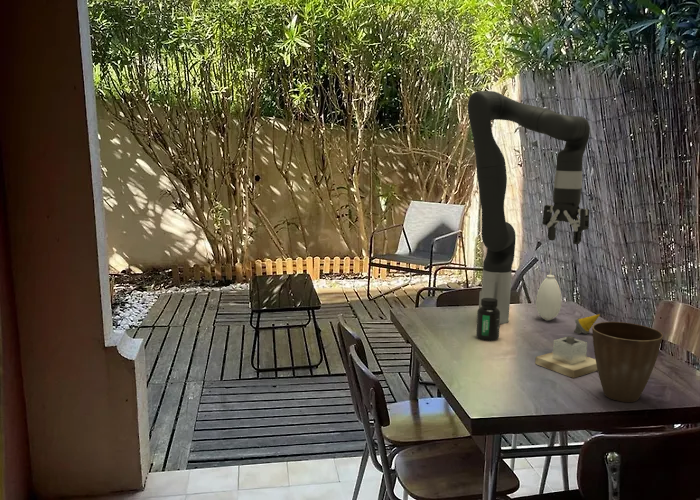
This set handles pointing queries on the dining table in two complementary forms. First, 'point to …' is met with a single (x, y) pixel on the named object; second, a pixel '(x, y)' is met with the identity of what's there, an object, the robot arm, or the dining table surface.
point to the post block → (566, 368)
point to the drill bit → (585, 324)
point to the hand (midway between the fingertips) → (563, 242)
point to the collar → (569, 351)
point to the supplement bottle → (488, 320)
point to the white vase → (549, 298)
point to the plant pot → (625, 358)
